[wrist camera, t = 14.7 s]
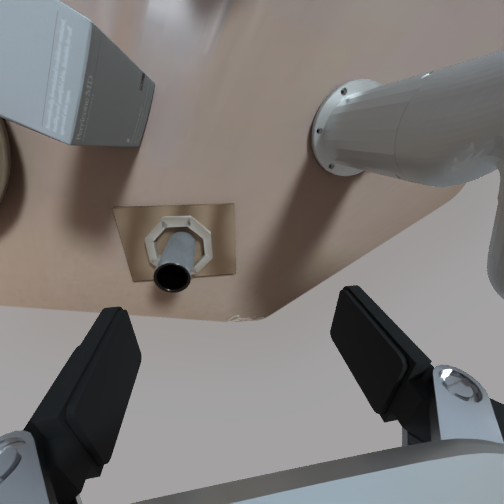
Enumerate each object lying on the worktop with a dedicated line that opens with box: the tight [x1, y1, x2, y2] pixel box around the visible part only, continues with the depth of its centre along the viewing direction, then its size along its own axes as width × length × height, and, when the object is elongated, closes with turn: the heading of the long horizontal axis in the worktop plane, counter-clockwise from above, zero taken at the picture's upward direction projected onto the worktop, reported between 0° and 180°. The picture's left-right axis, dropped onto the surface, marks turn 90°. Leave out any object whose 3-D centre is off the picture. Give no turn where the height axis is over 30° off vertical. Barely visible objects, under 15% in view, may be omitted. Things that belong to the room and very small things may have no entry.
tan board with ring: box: [113, 204, 236, 281], centre depth 37 cm, size 18×13×2 cm
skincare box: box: [0, 0, 155, 147], centre depth 21 cm, size 8×7×16 cm
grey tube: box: [153, 232, 196, 293], centre depth 33 cm, size 4×4×10 cm
